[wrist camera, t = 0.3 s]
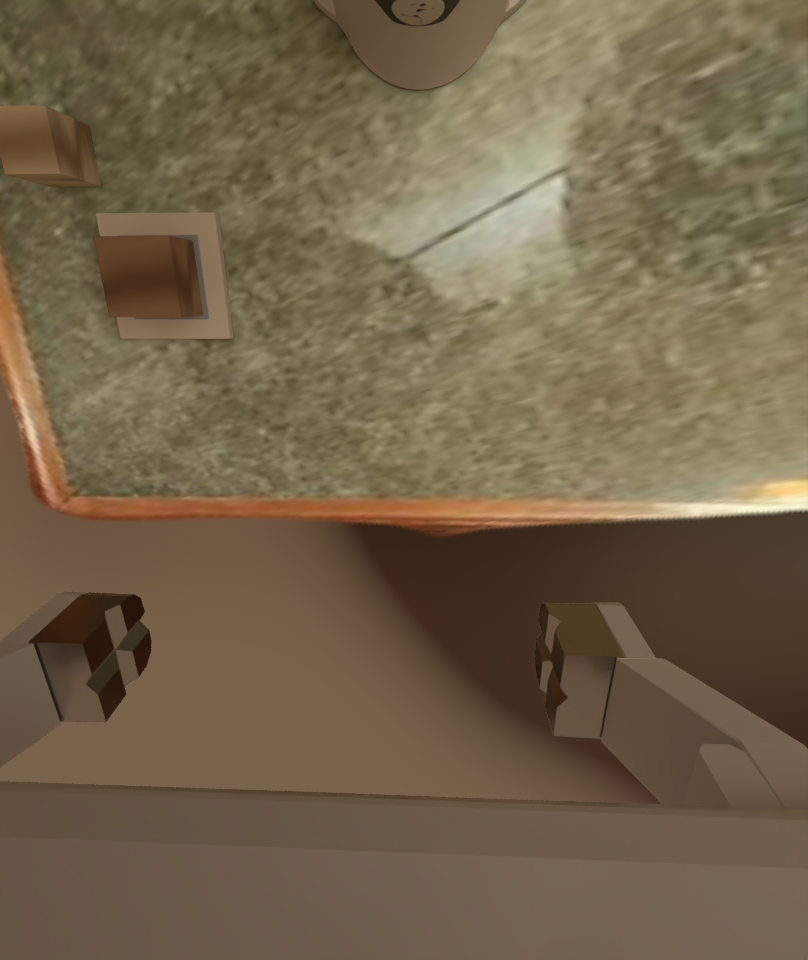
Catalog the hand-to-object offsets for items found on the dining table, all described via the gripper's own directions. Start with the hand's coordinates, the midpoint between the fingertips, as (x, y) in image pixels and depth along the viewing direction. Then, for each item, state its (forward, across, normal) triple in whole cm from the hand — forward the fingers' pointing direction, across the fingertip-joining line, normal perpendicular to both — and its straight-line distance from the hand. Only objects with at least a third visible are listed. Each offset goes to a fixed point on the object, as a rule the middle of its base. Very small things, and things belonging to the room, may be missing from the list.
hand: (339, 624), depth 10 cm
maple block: (+47, +33, -18) cm, 60 cm away
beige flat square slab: (+47, +25, -7) cm, 54 cm away
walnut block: (+46, +25, -7) cm, 53 cm away
